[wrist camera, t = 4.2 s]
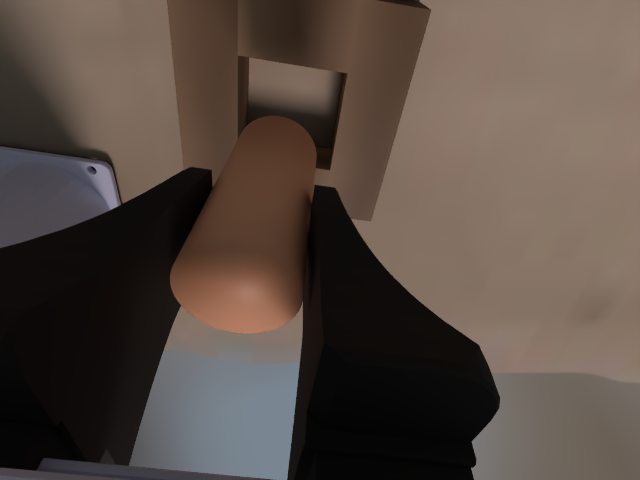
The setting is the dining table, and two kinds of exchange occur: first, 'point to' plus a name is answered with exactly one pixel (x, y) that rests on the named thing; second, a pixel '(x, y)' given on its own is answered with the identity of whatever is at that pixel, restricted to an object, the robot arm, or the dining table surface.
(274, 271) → the pin
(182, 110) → the socket block
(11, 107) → the dining table surface
